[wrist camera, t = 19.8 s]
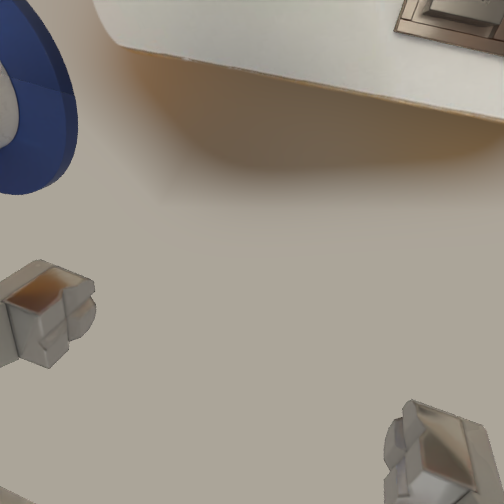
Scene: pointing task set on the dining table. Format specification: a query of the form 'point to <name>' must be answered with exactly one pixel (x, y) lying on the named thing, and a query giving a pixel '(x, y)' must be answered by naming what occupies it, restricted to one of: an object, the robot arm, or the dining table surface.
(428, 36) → the brown compartment tray
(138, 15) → the dining table surface
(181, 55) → the dining table surface
